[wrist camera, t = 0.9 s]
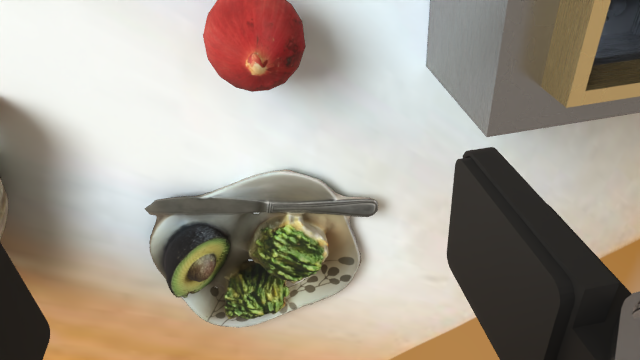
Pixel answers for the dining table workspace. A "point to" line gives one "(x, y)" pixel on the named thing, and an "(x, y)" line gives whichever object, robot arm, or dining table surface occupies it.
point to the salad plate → (257, 246)
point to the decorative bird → (3, 208)
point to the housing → (536, 60)
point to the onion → (254, 42)
